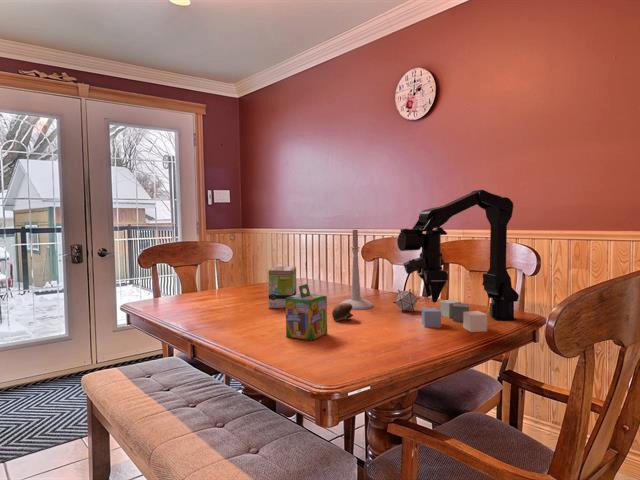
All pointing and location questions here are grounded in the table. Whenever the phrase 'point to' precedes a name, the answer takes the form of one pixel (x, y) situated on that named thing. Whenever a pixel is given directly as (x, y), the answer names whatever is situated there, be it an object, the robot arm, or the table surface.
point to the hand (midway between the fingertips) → (431, 299)
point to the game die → (406, 300)
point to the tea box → (281, 285)
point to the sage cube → (447, 308)
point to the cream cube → (475, 321)
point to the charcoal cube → (459, 311)
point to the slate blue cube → (431, 317)
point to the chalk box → (306, 315)
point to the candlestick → (356, 280)
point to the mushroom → (342, 311)
